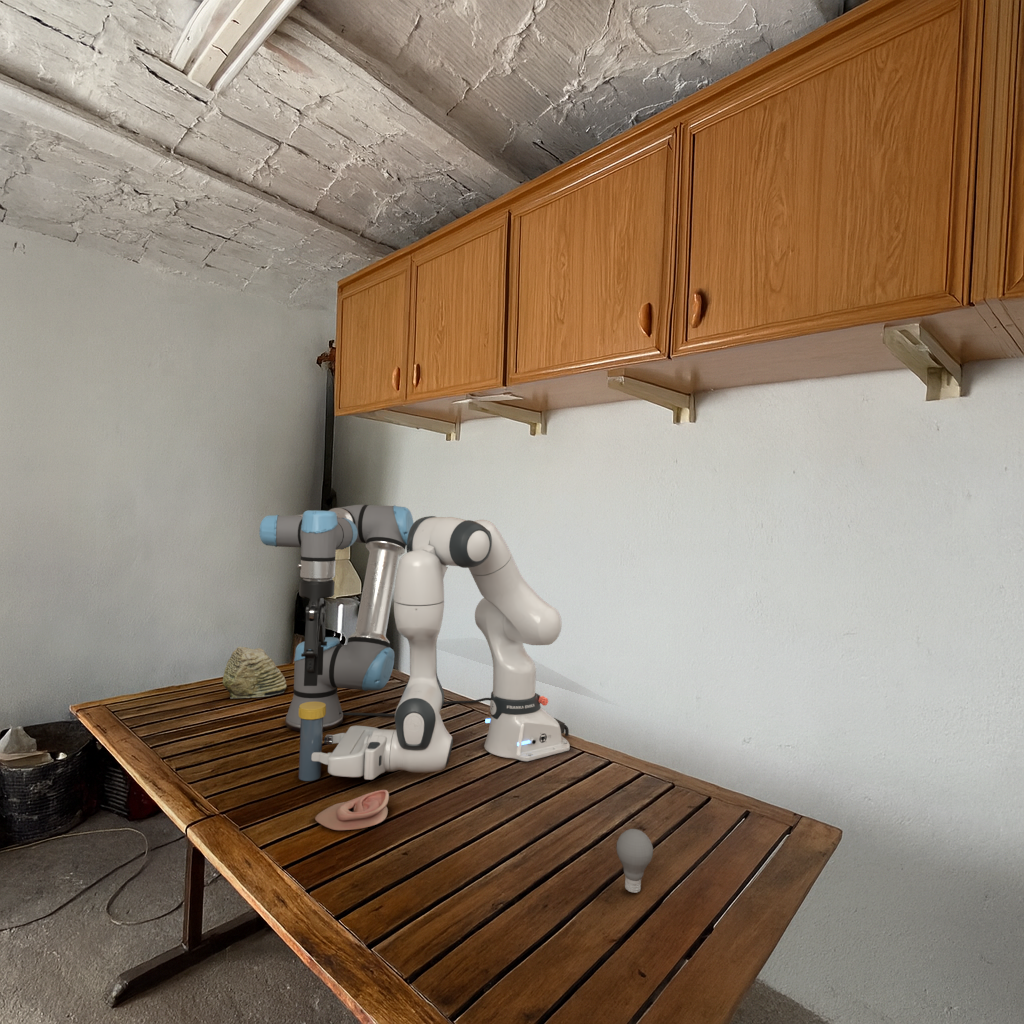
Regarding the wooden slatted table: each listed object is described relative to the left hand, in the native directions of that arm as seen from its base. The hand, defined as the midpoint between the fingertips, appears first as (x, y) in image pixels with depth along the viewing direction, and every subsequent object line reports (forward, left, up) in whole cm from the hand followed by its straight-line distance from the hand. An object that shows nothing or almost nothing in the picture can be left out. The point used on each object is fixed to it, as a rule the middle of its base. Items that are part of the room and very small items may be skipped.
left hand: (313, 679), depth 143 cm
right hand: (-1, +2, -15) cm, 15 cm away
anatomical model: (+5, +22, -22) cm, 31 cm away
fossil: (-21, -62, -22) cm, 69 cm away
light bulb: (-12, +75, -22) cm, 79 cm away
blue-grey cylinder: (0, 0, -22) cm, 22 cm away
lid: (0, 0, -6) cm, 6 cm away
